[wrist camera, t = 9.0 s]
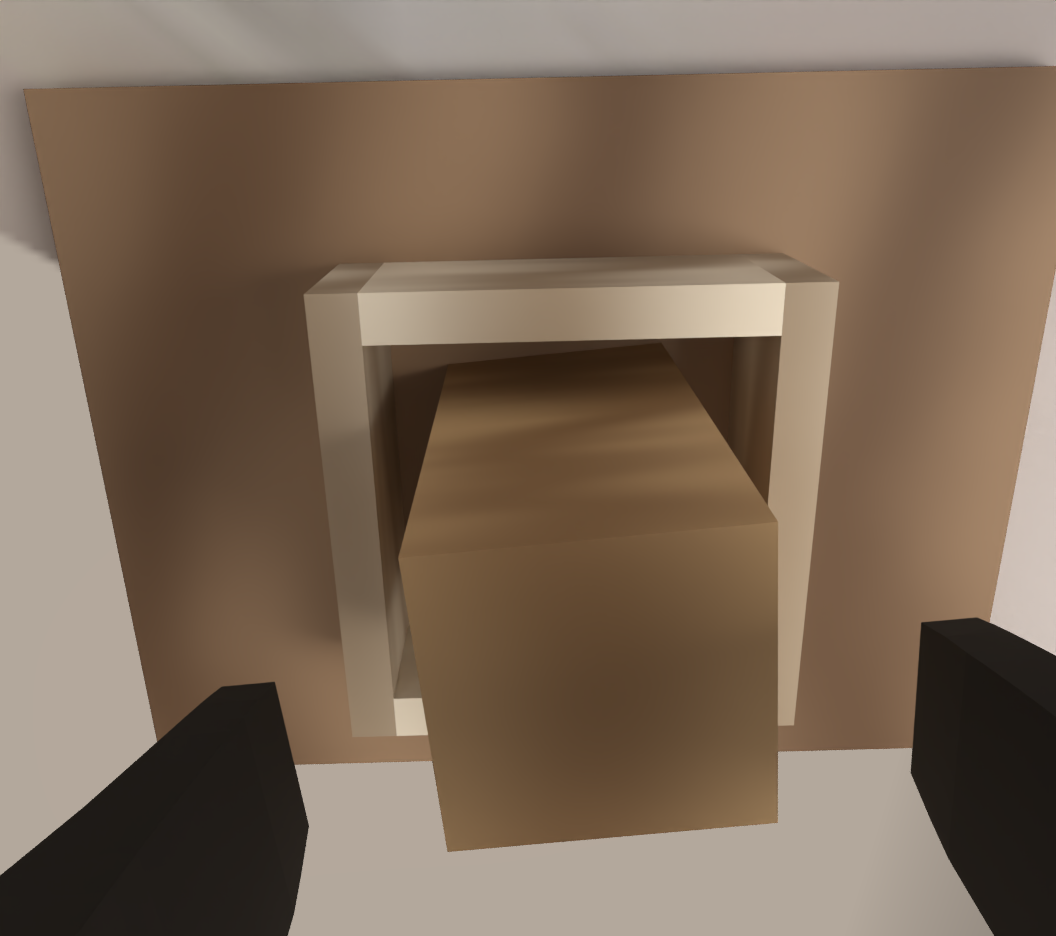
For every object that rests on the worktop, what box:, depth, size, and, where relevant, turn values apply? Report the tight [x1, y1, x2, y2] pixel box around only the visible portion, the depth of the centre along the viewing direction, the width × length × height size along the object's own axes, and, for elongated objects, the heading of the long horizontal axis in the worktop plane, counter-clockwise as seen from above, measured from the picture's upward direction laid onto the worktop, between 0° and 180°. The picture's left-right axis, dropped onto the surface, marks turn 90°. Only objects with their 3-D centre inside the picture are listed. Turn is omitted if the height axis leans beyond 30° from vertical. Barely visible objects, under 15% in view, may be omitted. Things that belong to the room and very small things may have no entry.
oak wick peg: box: [398, 343, 778, 852], centre depth 14 cm, size 4×4×8 cm
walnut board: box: [23, 66, 1056, 765], centre depth 17 cm, size 18×14×4 cm
